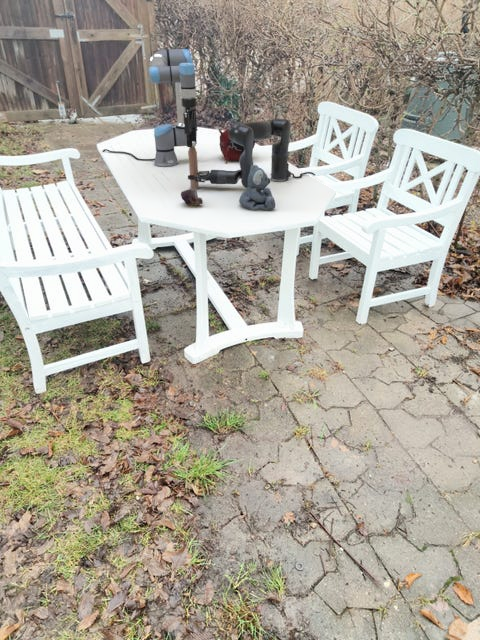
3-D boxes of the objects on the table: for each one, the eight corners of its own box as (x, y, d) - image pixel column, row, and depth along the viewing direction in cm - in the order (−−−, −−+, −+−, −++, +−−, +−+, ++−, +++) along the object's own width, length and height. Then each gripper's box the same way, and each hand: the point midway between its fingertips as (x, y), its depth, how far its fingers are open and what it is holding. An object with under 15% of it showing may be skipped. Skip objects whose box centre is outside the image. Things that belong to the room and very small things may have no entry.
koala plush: (276, 211, 223) (277, 171, 212) (240, 212, 222) (240, 172, 211) (271, 199, 237) (272, 161, 226) (237, 200, 236) (237, 162, 225)
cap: (193, 144, 243) (193, 141, 242) (197, 146, 240) (197, 142, 239) (186, 145, 241) (186, 142, 240) (190, 147, 238) (189, 143, 237)
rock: (196, 202, 238) (178, 205, 233) (194, 185, 234) (176, 188, 230) (205, 205, 228) (187, 208, 224) (203, 188, 224) (185, 191, 220)
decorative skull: (216, 132, 306) (216, 129, 283) (250, 124, 306) (252, 120, 282) (223, 164, 313) (223, 164, 290) (256, 156, 312) (259, 156, 289)
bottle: (190, 189, 252) (187, 144, 238) (191, 186, 256) (188, 142, 242) (198, 189, 252) (195, 144, 238) (199, 186, 256) (196, 142, 242)
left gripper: (188, 94, 236) (191, 140, 249) (175, 100, 220) (179, 149, 234) (201, 95, 234) (204, 141, 248) (189, 101, 219) (192, 150, 232)
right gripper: (221, 166, 252) (191, 165, 254) (216, 174, 240) (185, 172, 242) (221, 179, 256) (192, 178, 258) (217, 187, 244) (186, 186, 246)
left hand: (192, 145), depth 241 cm, fingers open, 6 cm apart
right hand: (189, 175), depth 250 cm, fingers closed on bottle, 4 cm apart
